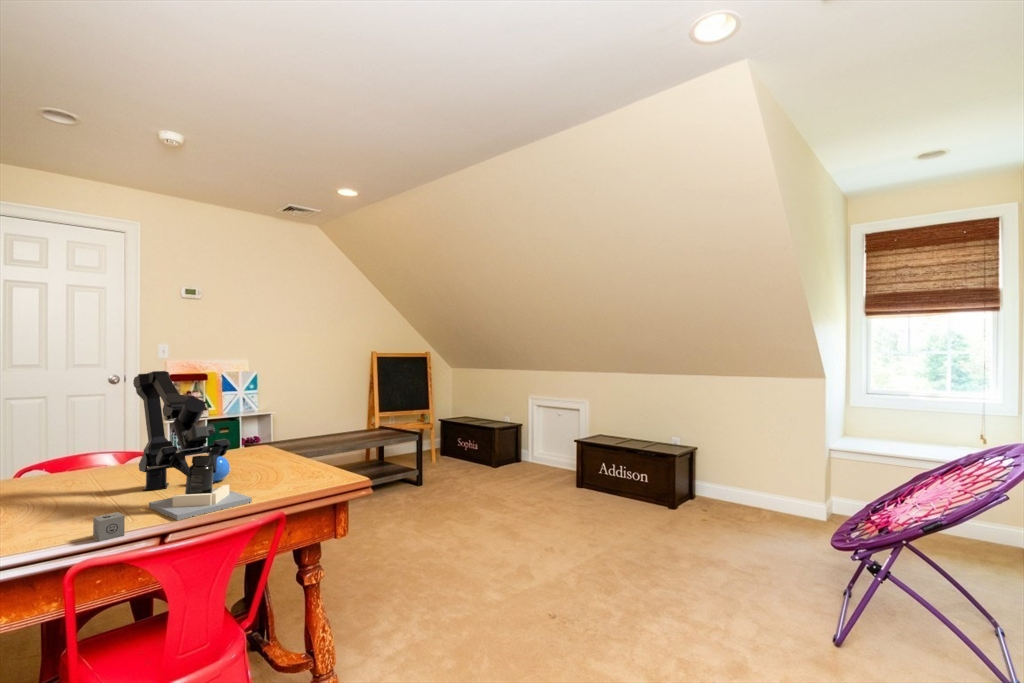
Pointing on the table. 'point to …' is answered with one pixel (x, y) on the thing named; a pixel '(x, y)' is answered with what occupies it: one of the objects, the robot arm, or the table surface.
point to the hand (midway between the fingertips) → (202, 474)
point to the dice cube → (108, 526)
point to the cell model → (221, 469)
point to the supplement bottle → (200, 476)
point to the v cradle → (199, 503)
